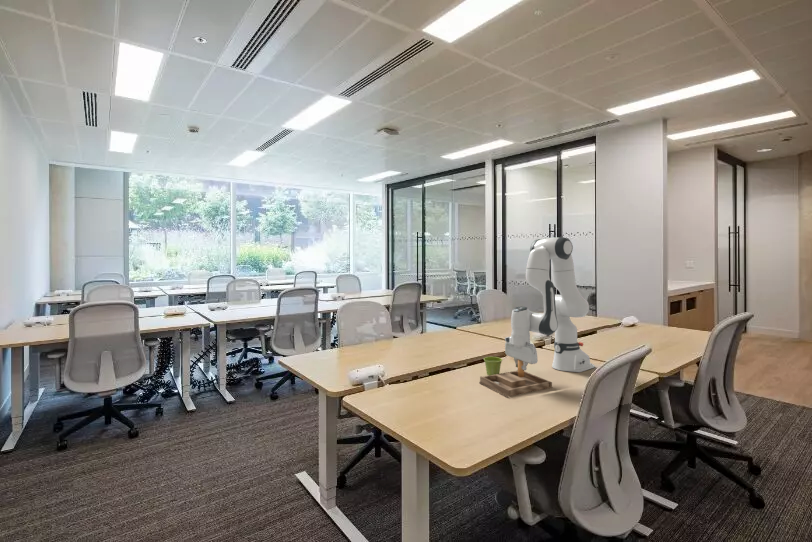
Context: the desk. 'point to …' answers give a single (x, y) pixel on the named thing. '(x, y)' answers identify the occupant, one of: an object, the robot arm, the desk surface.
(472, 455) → the desk surface
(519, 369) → the dowel
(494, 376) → the channel
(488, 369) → the plant pot
